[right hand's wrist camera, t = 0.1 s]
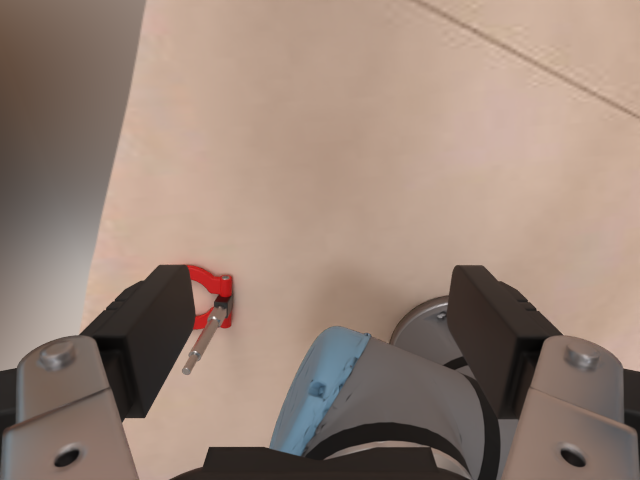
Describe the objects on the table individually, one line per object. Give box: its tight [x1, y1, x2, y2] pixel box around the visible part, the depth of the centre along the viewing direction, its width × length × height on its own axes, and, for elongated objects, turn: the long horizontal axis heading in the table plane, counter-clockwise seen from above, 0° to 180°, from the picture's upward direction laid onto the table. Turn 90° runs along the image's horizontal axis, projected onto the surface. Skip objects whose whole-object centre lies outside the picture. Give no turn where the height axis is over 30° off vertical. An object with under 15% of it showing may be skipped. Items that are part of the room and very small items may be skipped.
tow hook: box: [182, 265, 232, 375], centre depth 39 cm, size 8×13×9 cm
